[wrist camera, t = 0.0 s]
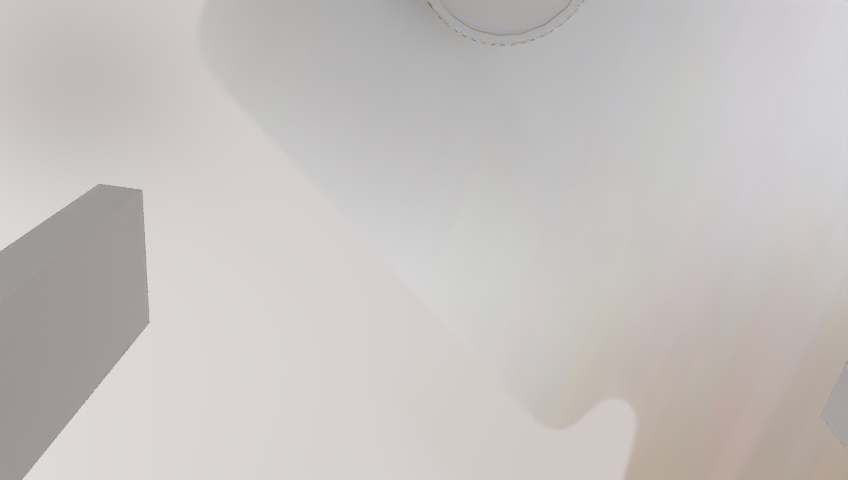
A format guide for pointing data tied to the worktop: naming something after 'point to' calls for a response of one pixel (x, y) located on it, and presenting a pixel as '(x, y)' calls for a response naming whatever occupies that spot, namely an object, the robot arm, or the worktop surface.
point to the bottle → (504, 18)
